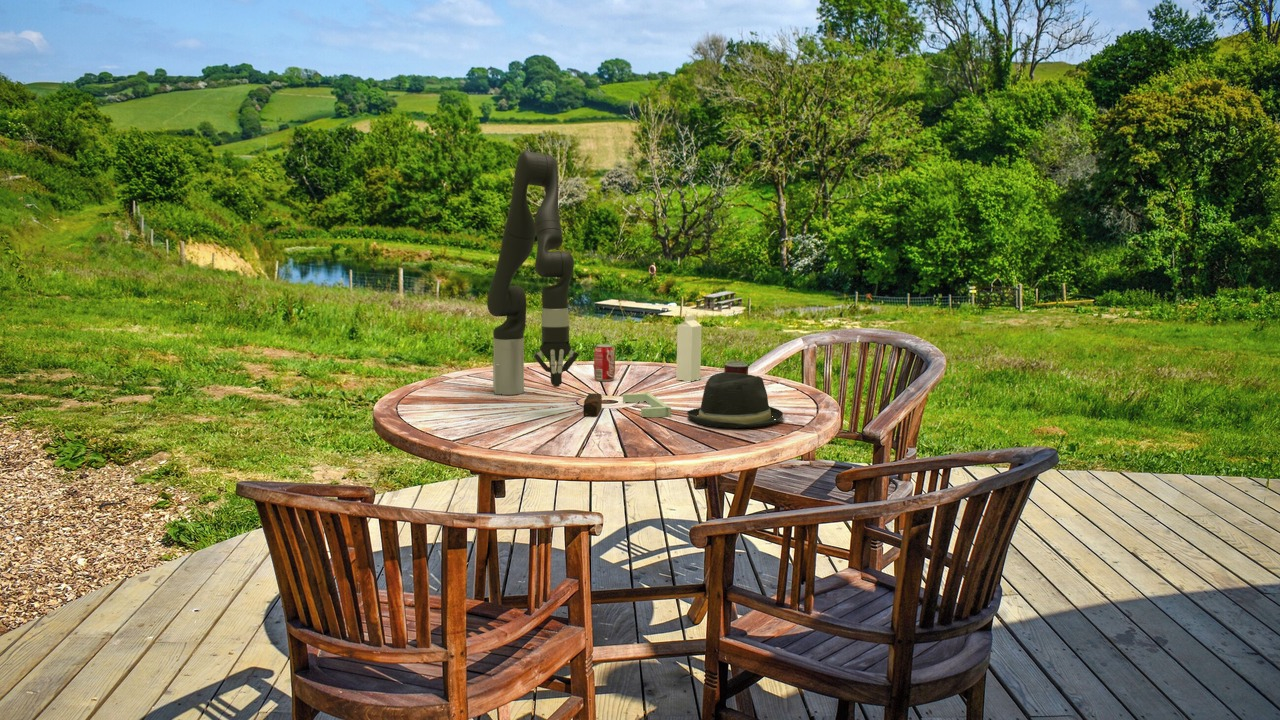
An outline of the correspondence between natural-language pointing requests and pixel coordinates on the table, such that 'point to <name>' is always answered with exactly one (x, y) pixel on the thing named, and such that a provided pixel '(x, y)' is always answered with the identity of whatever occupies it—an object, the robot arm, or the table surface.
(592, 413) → the brick
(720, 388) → the fedora
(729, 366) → the soda can
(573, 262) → the robot arm
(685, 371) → the milk
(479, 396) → the table surface
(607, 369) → the soda can
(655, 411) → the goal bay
